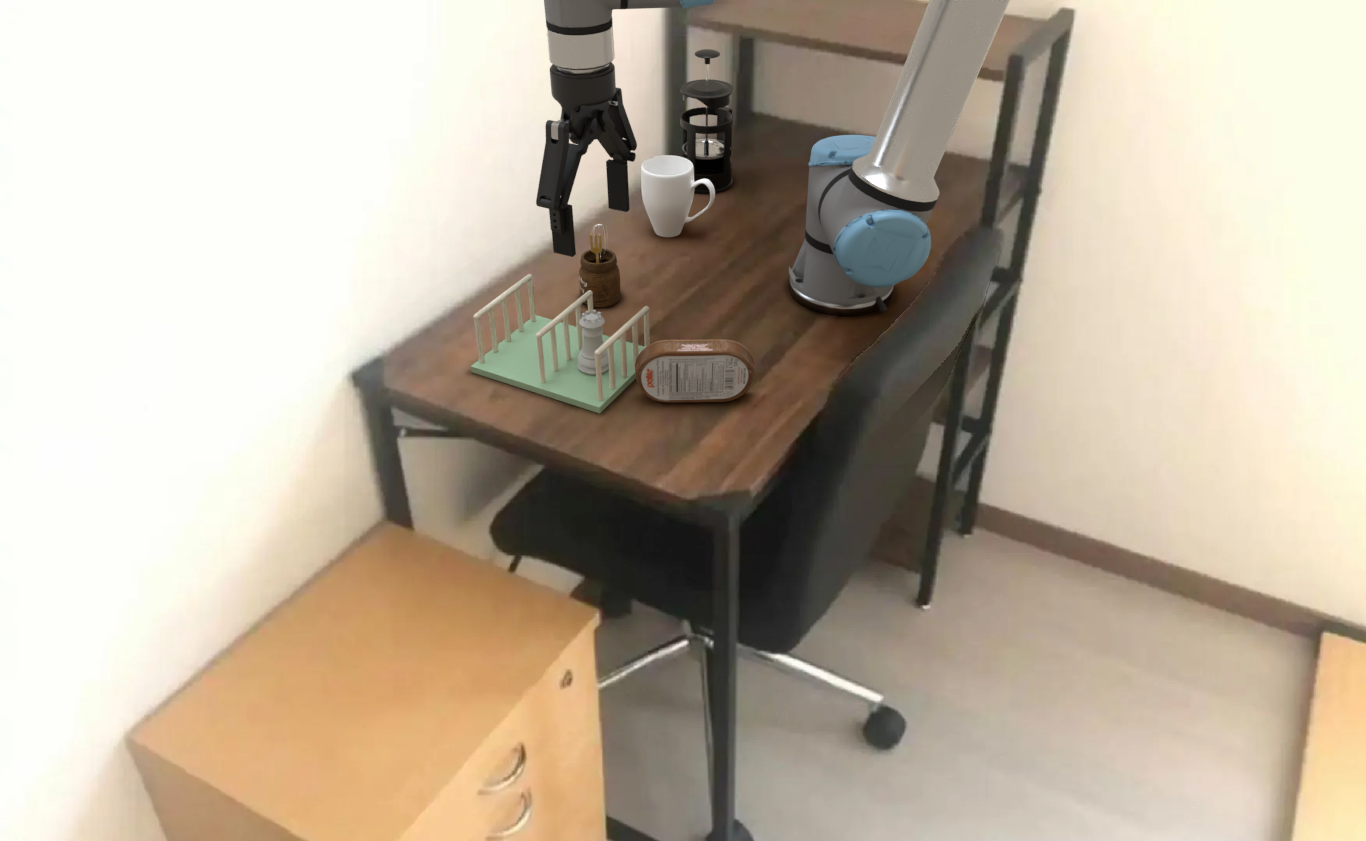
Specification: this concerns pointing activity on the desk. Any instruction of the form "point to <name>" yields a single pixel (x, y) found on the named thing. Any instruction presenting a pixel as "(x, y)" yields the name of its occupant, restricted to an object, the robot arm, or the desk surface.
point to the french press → (709, 129)
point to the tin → (694, 370)
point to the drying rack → (557, 353)
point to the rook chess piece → (592, 343)
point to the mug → (670, 193)
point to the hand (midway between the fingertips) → (592, 230)
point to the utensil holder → (599, 274)
